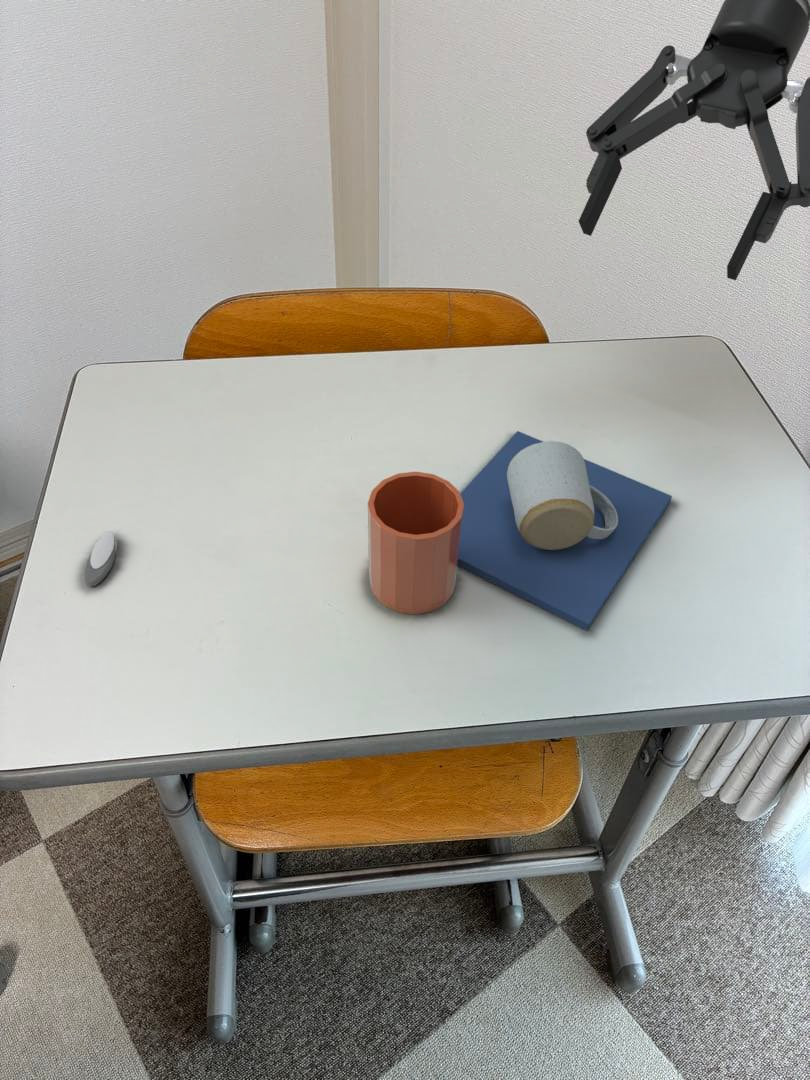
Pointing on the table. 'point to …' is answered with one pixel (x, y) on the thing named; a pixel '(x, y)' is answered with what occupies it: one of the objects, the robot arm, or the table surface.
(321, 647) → the table surface
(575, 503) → the ceramic mug
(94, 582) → the oval pebble
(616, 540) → the blue mat
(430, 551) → the clay cup
